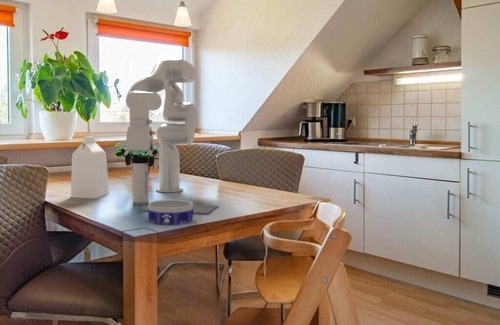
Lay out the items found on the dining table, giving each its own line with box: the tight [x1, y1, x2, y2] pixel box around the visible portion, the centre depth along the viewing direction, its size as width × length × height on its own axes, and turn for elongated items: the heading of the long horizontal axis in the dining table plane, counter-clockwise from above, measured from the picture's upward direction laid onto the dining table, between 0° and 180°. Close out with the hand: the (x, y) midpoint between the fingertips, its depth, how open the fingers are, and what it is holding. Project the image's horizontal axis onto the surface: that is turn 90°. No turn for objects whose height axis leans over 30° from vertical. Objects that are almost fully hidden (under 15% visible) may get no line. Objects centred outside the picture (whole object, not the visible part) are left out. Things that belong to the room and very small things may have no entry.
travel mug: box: [130, 153, 150, 206], centre depth 190 cm, size 6×7×20 cm
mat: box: [140, 203, 219, 215], centre depth 182 cm, size 15×26×1 cm, turn 80°
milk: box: [70, 135, 110, 199], centre depth 208 cm, size 12×12×26 cm
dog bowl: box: [147, 199, 194, 226], centre depth 163 cm, size 15×15×6 cm
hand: (139, 165), depth 190 cm, fingers open, 9 cm apart
